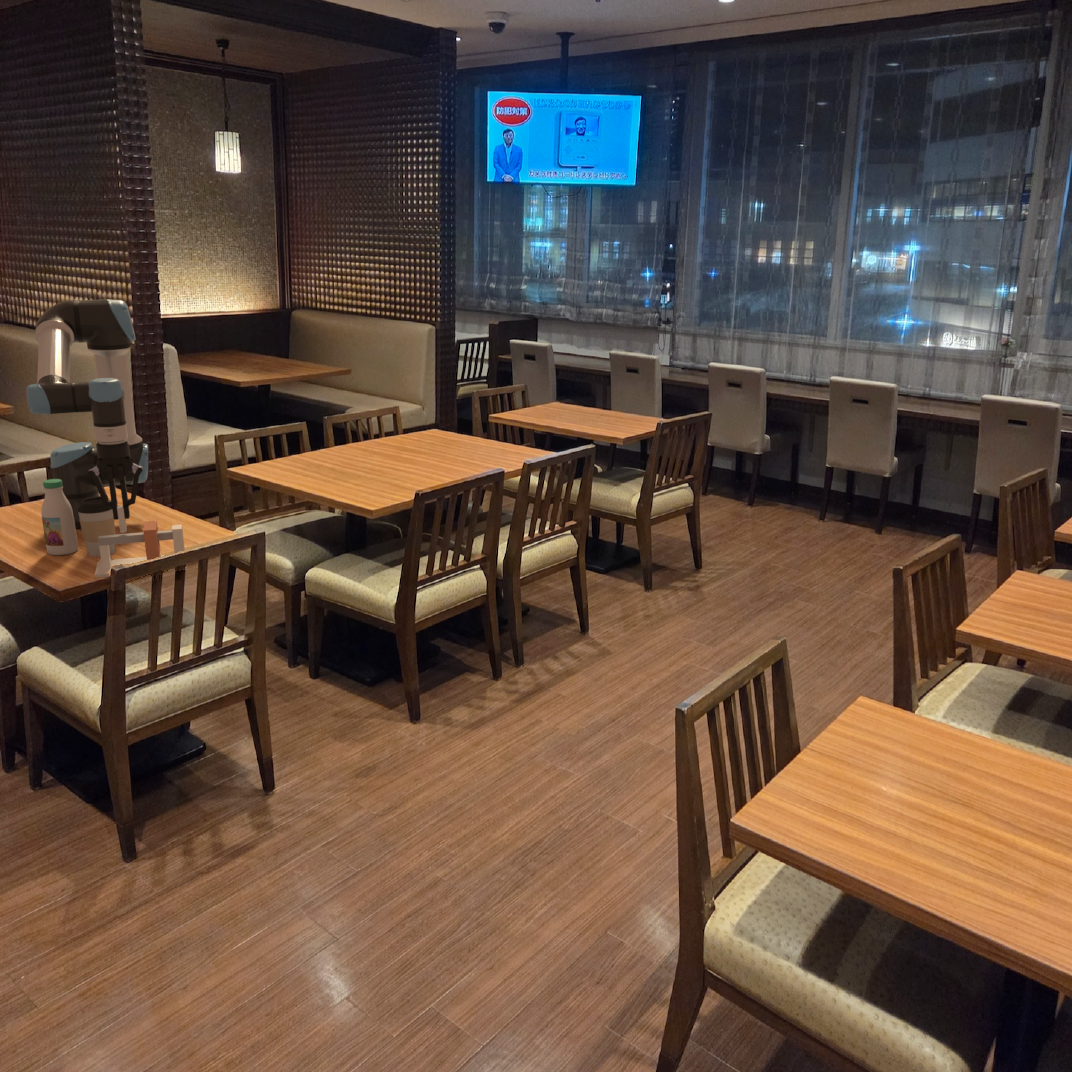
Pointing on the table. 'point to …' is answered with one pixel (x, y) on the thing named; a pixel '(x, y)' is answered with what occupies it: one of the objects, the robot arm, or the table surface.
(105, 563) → the rail
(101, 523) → the coffee cup
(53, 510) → the milk bottle
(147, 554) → the notched orange block
